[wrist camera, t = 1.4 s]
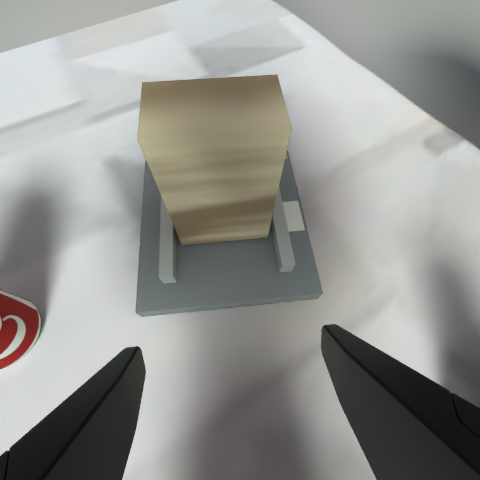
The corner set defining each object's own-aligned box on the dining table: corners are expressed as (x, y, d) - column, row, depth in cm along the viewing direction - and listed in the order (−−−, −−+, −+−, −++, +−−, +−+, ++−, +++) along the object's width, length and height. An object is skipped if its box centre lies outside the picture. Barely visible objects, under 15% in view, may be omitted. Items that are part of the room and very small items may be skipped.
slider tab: (267, 237, 22) (291, 128, 12) (182, 245, 22) (137, 138, 12) (260, 197, 24) (277, 74, 14) (181, 204, 24) (142, 82, 14)
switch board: (317, 298, 22) (328, 287, 19) (142, 316, 21) (127, 308, 18) (273, 113, 32) (277, 88, 29) (152, 121, 31) (144, 97, 28)
